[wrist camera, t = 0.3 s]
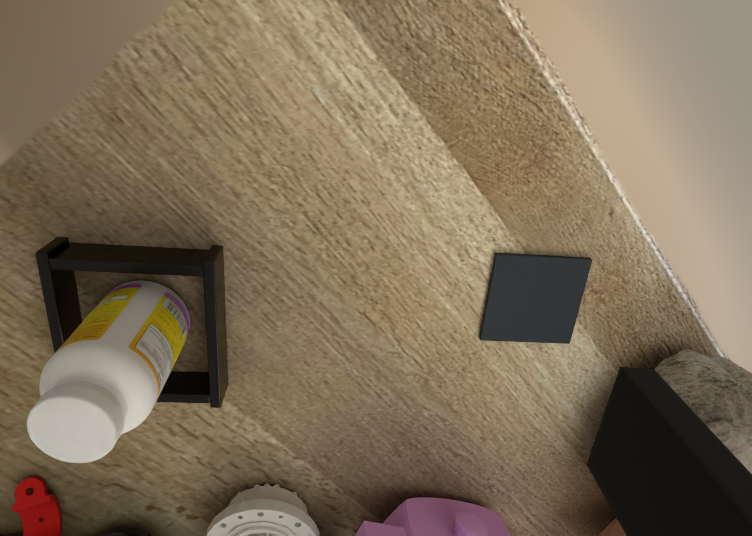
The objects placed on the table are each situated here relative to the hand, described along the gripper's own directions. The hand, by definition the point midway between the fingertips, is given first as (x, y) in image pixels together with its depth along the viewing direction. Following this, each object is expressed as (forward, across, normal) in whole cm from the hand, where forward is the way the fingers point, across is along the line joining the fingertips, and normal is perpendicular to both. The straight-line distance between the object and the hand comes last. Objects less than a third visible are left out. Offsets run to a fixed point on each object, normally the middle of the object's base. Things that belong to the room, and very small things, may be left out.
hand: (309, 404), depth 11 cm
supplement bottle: (+27, -13, -14) cm, 33 cm away
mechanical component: (+25, -9, -35) cm, 44 cm away
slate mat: (+27, +17, -11) cm, 34 cm away
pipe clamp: (+24, -23, -34) cm, 48 cm away
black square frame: (+27, -13, -14) cm, 33 cm away
